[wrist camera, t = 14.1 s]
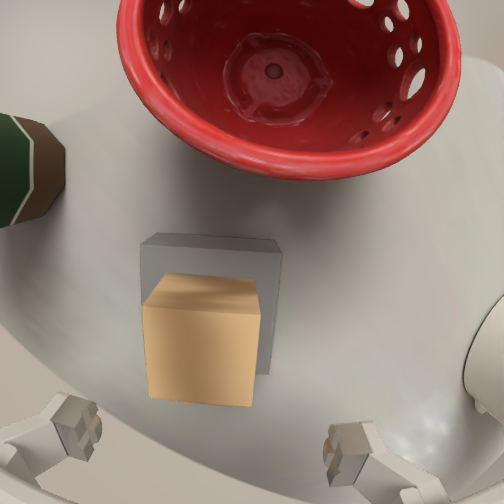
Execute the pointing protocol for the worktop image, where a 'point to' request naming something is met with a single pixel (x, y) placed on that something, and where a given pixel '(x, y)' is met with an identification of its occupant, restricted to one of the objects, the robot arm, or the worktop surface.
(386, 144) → the plant pot
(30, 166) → the beer bottle
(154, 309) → the oak cube
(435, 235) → the worktop surface
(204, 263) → the block
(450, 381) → the worktop surface
